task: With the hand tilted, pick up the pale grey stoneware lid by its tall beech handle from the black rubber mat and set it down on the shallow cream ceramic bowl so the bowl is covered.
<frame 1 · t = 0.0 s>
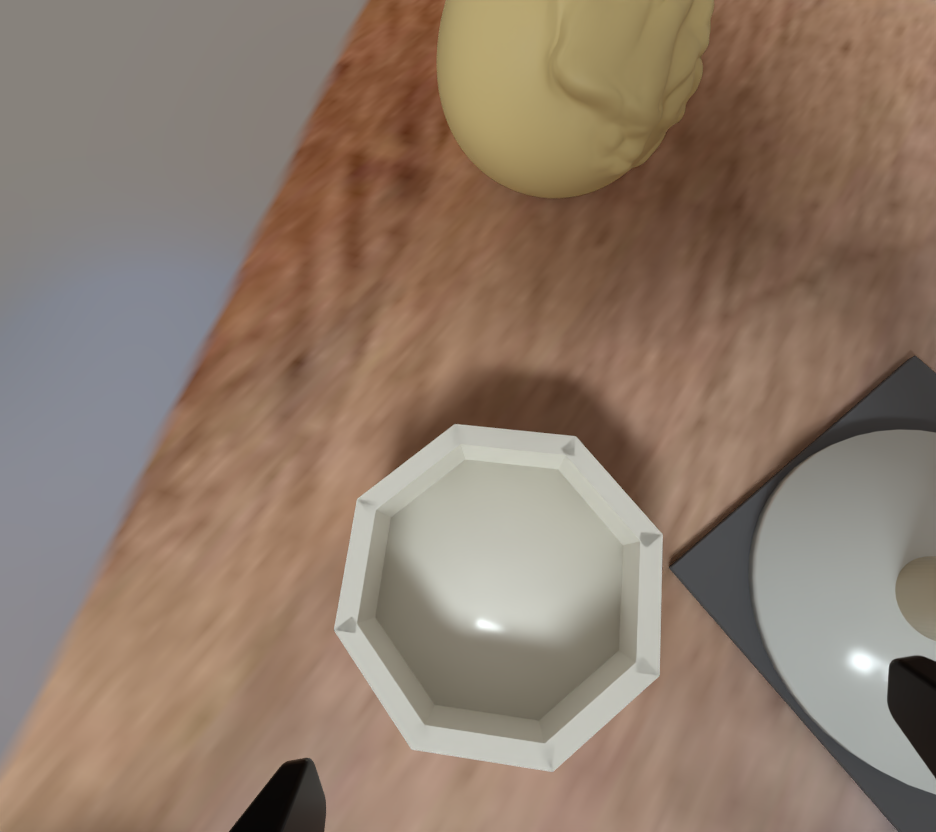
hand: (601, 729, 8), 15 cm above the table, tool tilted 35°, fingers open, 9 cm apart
mat: (935, 599, 22), on the table
bowl: (499, 580, 23), on the table
lid: (923, 598, 22), resting on mat
sculpture: (556, 143, 30), on the table
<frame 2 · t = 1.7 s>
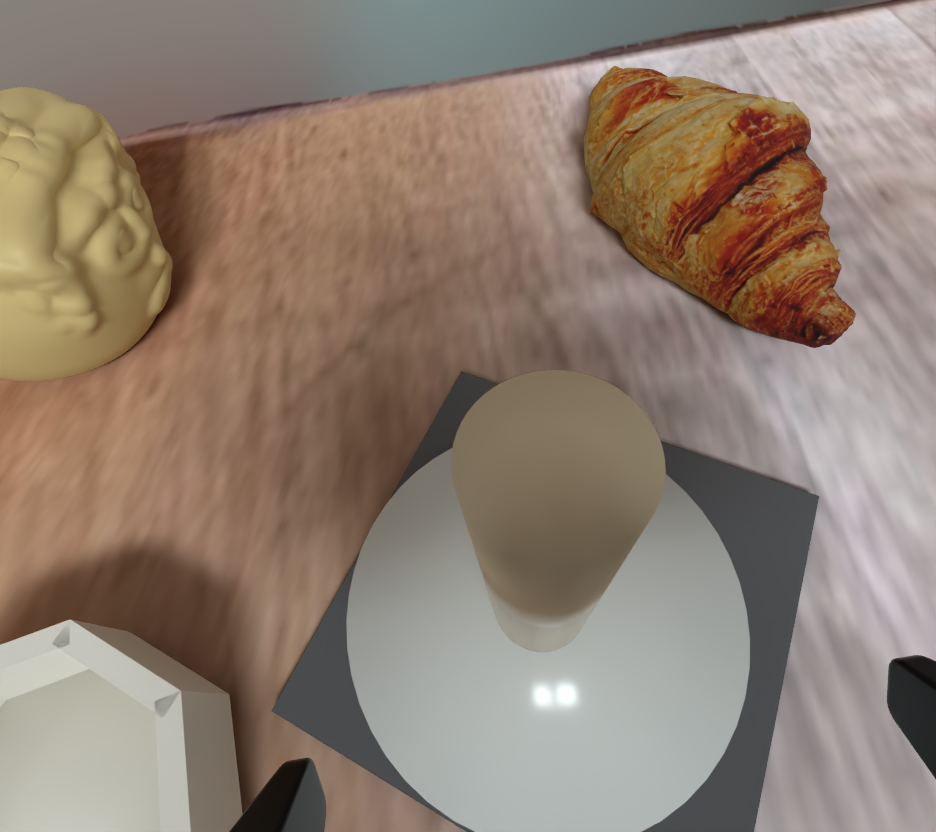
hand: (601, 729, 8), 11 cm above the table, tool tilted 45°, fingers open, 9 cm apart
croissant: (688, 219, 29), on the table
mat: (557, 600, 20), on the table
lid: (539, 605, 19), resting on mat
sculpture: (100, 320, 29), on the table
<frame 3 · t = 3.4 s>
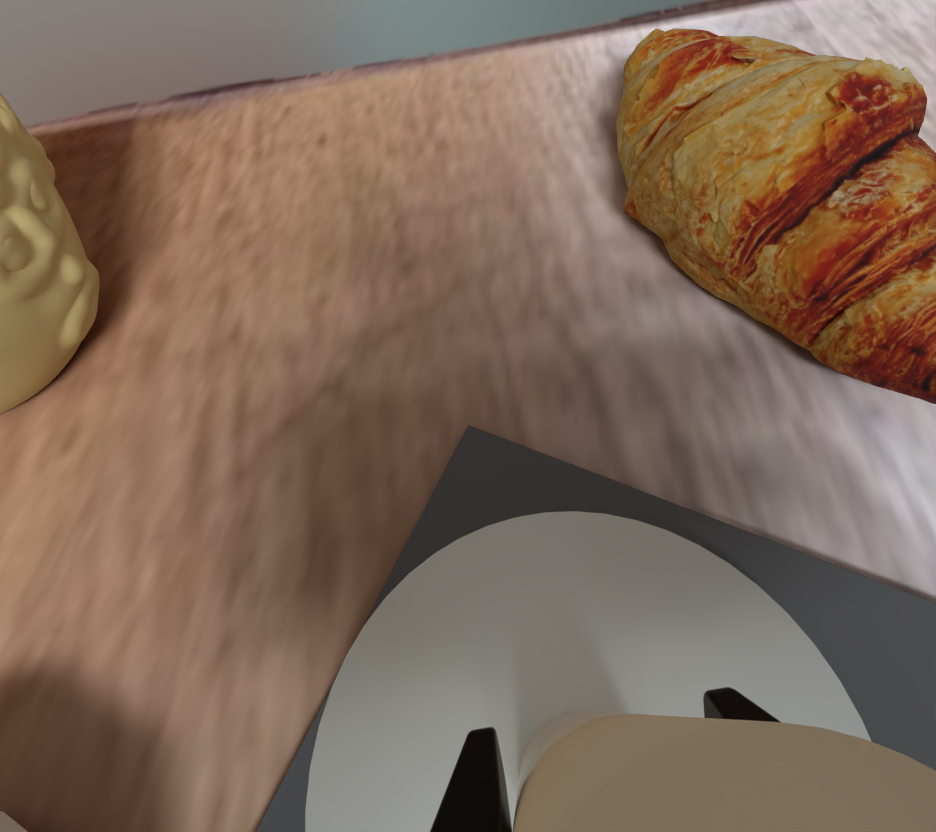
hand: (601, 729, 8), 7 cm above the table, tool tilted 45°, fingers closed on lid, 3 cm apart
croissant: (748, 222, 23), on the table
mat: (606, 771, 14), on the table
lid: (583, 783, 13), resting on mat, touching gripper
sculpture: (12, 349, 23), on the table
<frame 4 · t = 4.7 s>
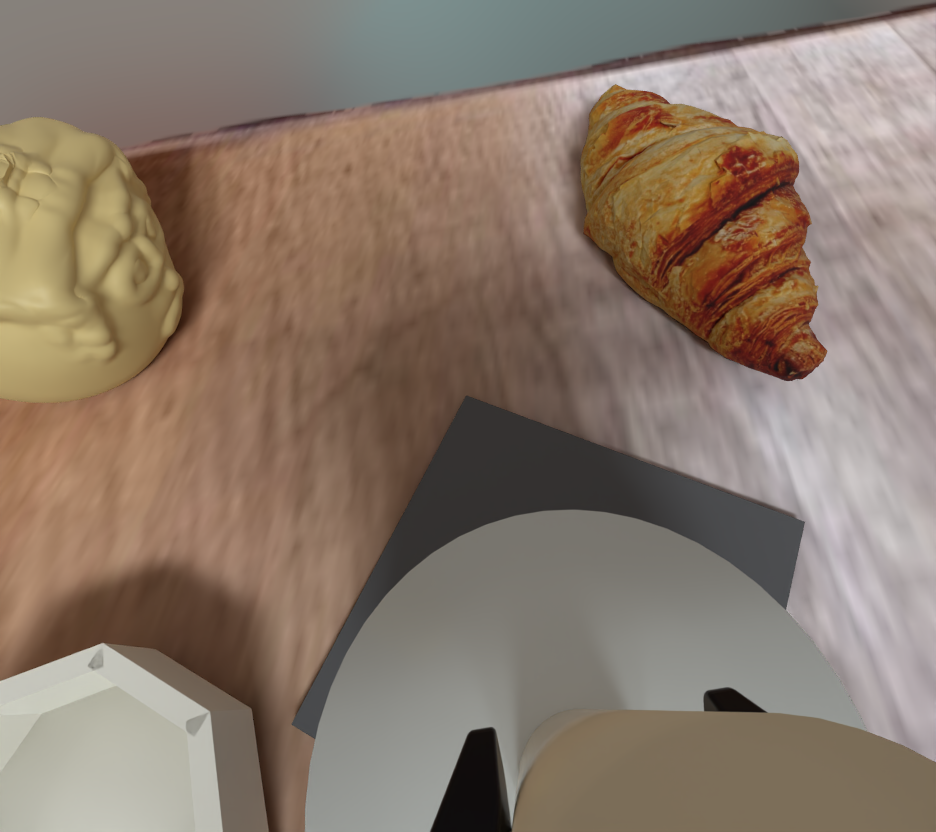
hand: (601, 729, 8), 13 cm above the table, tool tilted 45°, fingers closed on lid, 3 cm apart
croissant: (679, 242, 30), on the table
mat: (557, 620, 21), on the table
lid: (582, 781, 13), point 6 cm above the table, touching gripper
sculpture: (113, 338, 30), on the table
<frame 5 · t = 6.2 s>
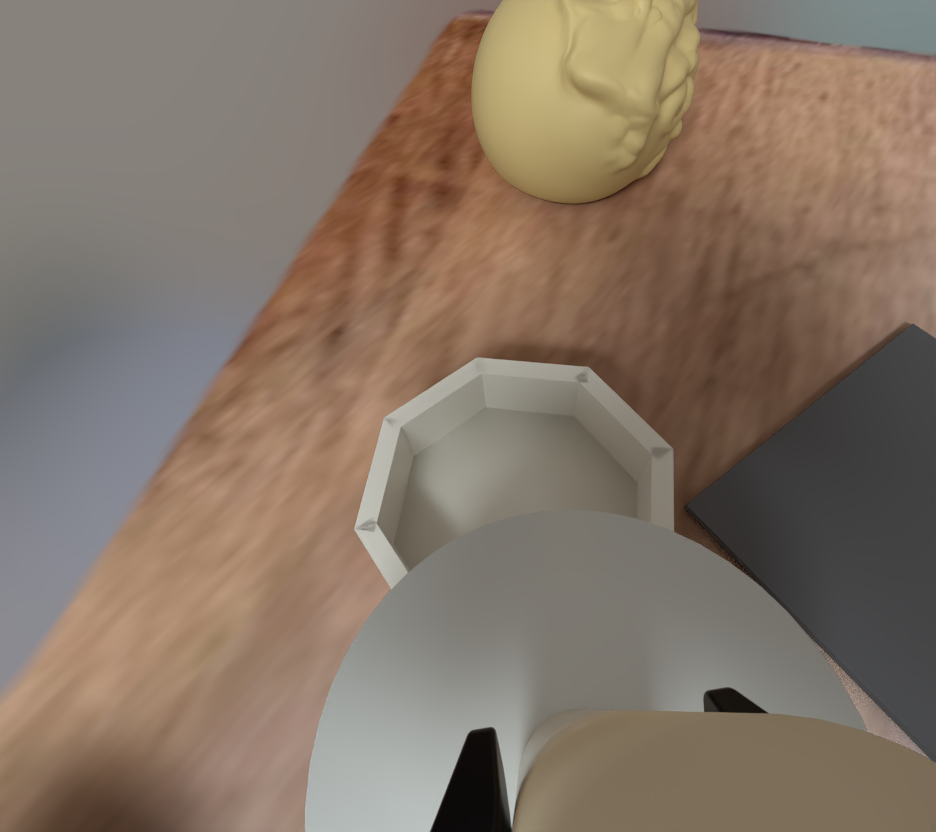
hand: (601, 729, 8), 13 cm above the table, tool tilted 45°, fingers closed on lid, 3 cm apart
bowl: (516, 517, 24), on the table
lid: (582, 781, 13), point 7 cm above the table, touching gripper
sculpture: (573, 168, 34), on the table
when the fingers open (11 cm above the table, at t = 8.0 s): lid stays where it is, resting on bowl.
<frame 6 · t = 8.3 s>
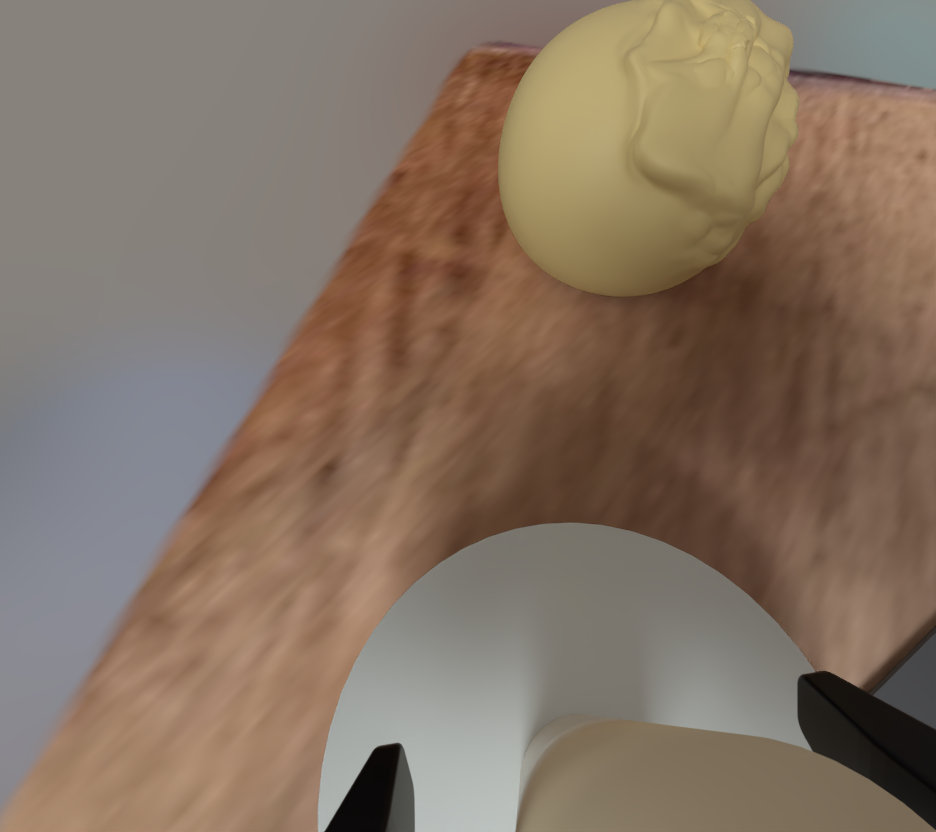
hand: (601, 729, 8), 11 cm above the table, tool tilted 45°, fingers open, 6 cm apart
lid: (581, 783, 14), point 4 cm above the table, touching bowl
sculpture: (618, 245, 28), on the table
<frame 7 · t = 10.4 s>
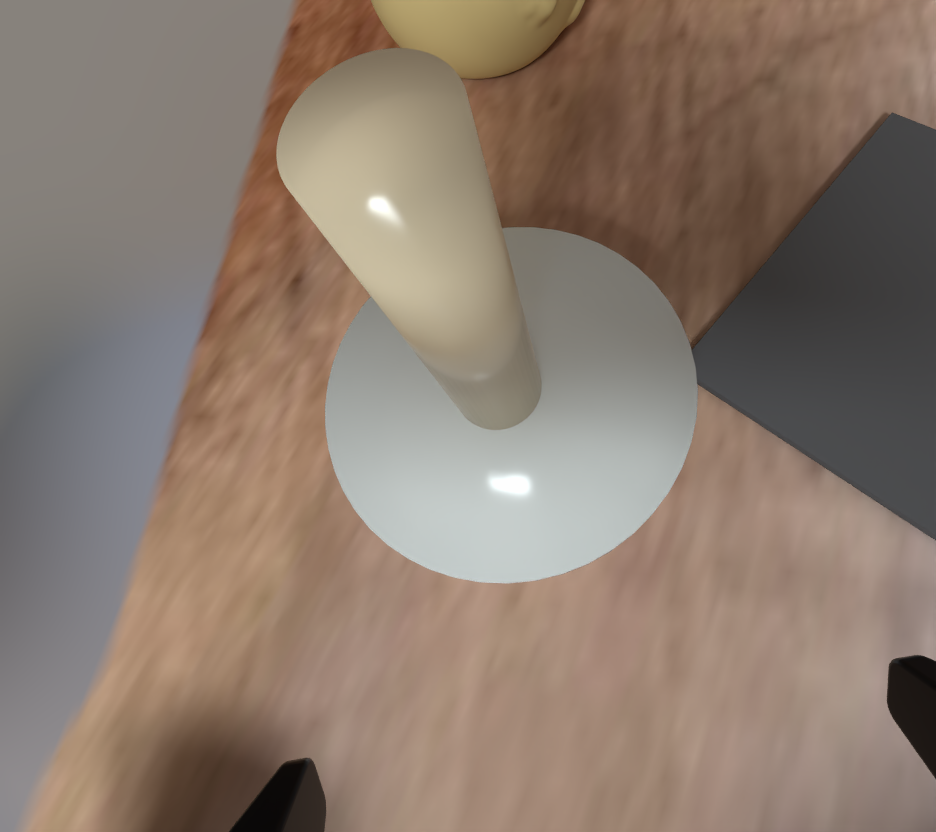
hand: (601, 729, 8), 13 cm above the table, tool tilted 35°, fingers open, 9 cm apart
lid: (501, 394, 20), point 4 cm above the table, touching bowl
sculpture: (497, 34, 31), on the table
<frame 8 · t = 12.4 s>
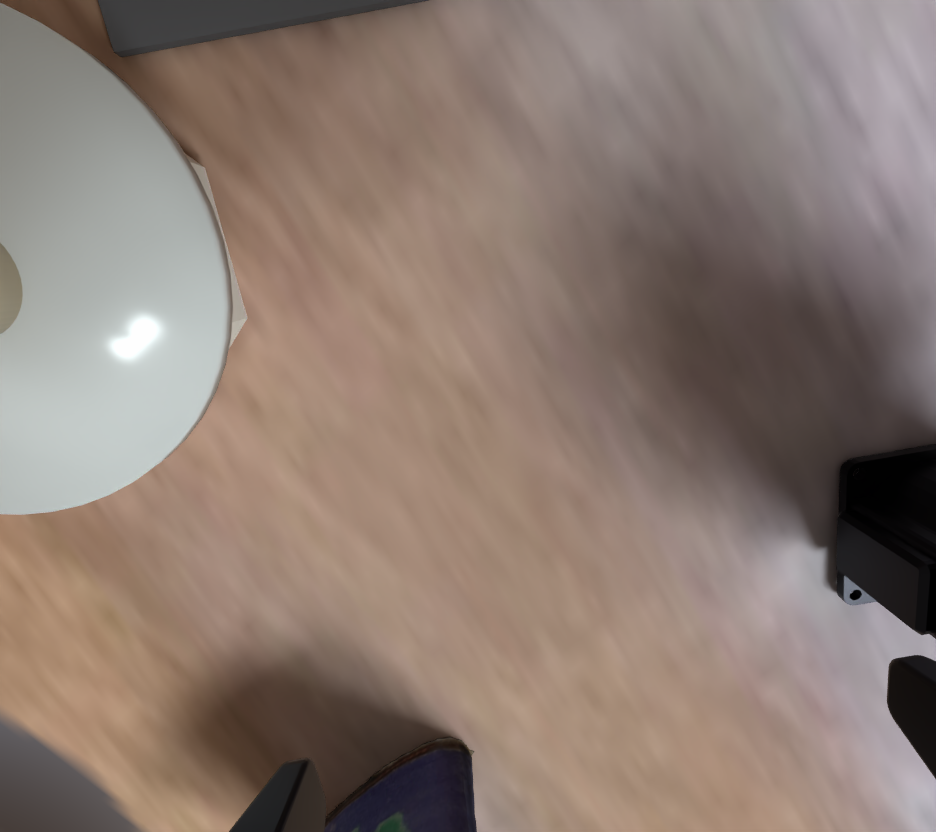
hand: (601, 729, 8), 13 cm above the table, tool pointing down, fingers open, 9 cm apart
bowl: (68, 275, 18), on the table
flask: (392, 790, 26), on the table
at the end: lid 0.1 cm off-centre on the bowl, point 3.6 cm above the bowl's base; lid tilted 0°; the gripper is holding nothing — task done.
